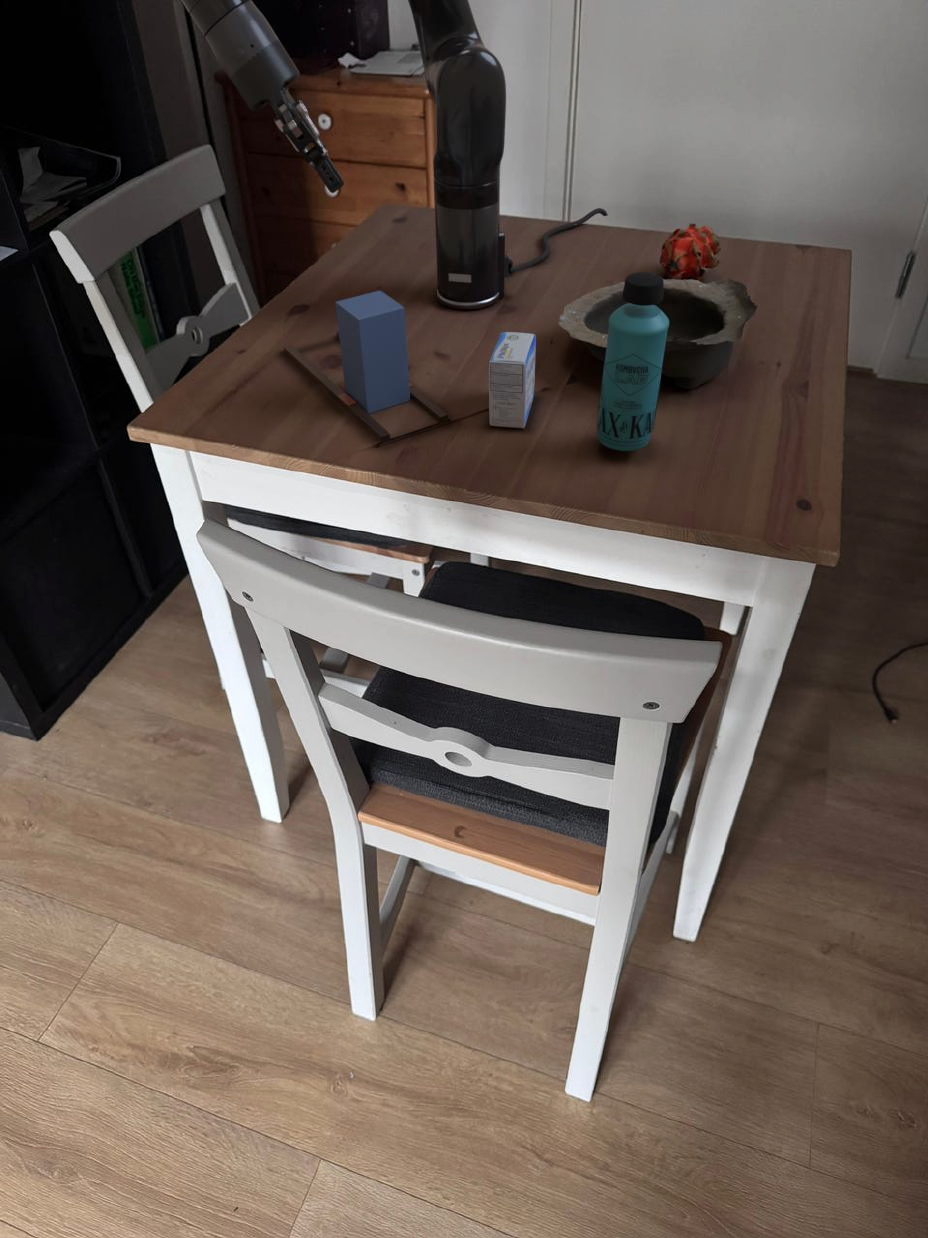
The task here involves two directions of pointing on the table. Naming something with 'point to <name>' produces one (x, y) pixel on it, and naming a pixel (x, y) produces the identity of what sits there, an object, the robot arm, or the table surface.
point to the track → (358, 411)
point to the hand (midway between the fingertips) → (338, 188)
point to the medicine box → (512, 379)
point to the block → (374, 350)
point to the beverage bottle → (633, 365)
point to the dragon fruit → (690, 253)
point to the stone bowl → (673, 325)
